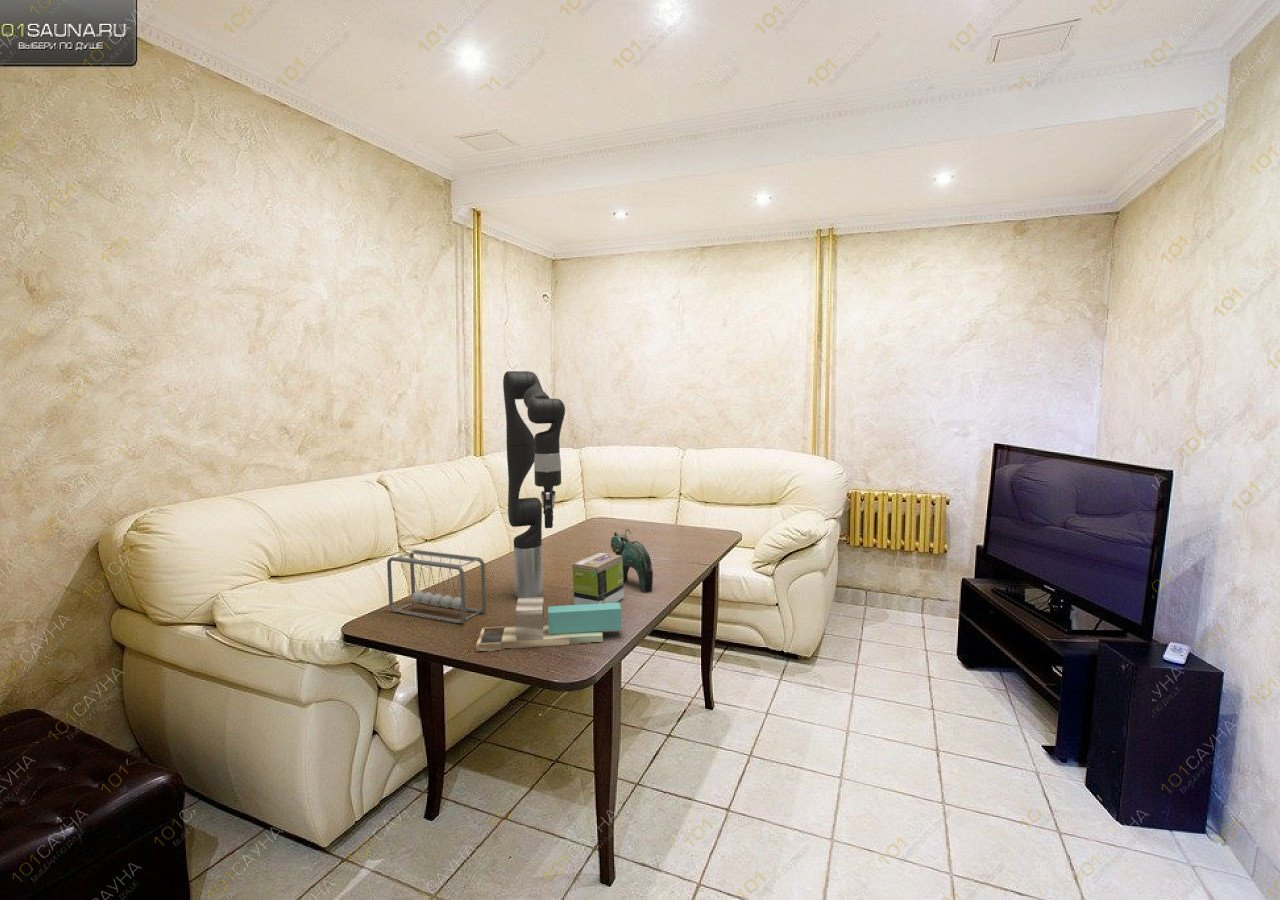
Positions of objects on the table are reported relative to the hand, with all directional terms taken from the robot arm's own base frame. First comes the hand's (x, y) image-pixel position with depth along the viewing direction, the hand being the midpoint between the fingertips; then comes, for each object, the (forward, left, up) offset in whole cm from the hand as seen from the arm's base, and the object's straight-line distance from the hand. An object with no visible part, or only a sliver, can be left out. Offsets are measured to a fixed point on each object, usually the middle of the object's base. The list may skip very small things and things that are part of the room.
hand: (549, 524), depth 168 cm
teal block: (+9, +9, -28) cm, 31 cm away
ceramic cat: (-33, +28, -30) cm, 53 cm away
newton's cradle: (-17, -36, -30) cm, 50 cm away
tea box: (-17, +15, -30) cm, 38 cm away
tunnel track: (+9, -3, -30) cm, 32 cm away
